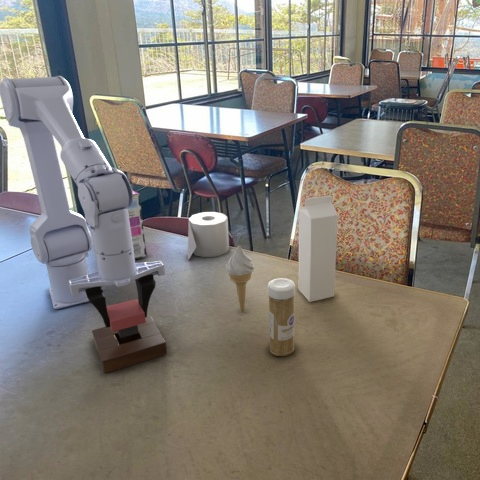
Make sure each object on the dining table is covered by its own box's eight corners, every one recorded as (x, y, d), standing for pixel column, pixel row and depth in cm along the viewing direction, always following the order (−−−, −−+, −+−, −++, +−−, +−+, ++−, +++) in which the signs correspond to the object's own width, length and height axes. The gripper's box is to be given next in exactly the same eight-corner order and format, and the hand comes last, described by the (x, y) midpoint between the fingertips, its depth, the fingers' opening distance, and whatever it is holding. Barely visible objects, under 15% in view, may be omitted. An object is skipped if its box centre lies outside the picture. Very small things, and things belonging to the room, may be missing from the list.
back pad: (108, 328, 84) (104, 306, 83) (139, 319, 87) (136, 298, 85) (114, 344, 80) (110, 321, 78) (147, 334, 83) (144, 312, 81)
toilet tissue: (182, 262, 116) (178, 230, 113) (198, 241, 128) (196, 210, 125) (218, 265, 116) (216, 232, 112) (232, 242, 128) (230, 212, 124)
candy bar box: (148, 256, 119) (140, 193, 112) (128, 262, 116) (119, 197, 109) (129, 242, 126) (121, 182, 120) (110, 247, 123) (100, 186, 117)
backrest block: (93, 341, 86) (91, 330, 85) (151, 325, 92) (150, 314, 91) (104, 373, 79) (102, 361, 78) (167, 354, 84) (165, 342, 83)
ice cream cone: (250, 321, 94) (248, 251, 88) (223, 317, 95) (219, 248, 89) (259, 306, 99) (257, 239, 93) (234, 303, 100) (230, 237, 94)
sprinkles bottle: (290, 359, 83) (290, 291, 78) (265, 354, 84) (264, 287, 79) (297, 343, 87) (298, 278, 82) (273, 340, 88) (272, 275, 83)
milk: (298, 289, 106) (298, 194, 97) (322, 284, 108) (324, 190, 100) (309, 302, 101) (311, 203, 92) (335, 296, 103) (338, 199, 95)
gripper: (67, 267, 71) (83, 344, 76) (166, 247, 78) (174, 319, 83) (61, 250, 76) (76, 322, 81) (154, 233, 83) (162, 300, 89)
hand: (125, 319), depth 83 cm, fingers closed on back pad, 5 cm apart
